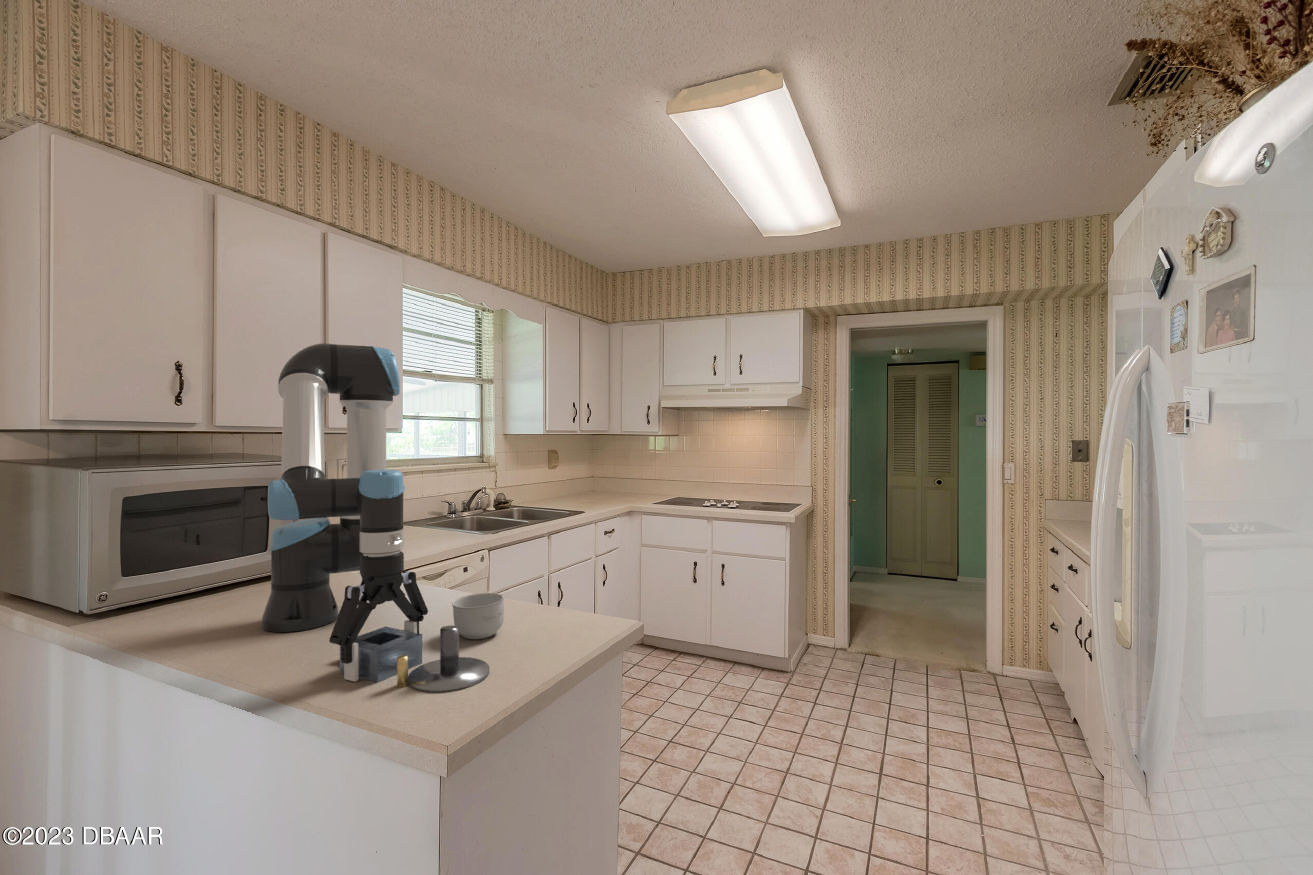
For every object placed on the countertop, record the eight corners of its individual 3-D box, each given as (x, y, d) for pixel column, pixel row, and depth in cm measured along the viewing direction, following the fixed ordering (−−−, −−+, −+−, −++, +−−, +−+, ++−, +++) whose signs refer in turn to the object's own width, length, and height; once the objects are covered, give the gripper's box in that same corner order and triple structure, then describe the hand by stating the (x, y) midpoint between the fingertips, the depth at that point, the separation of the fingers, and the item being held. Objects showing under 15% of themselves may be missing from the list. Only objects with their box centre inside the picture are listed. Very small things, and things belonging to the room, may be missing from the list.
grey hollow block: (422, 662, 114) (422, 634, 114) (377, 682, 105) (377, 651, 105) (368, 649, 120) (368, 622, 120) (322, 667, 111) (321, 638, 111)
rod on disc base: (390, 682, 105) (390, 634, 105) (449, 655, 118) (449, 612, 117) (449, 698, 99) (449, 647, 99) (505, 668, 111) (505, 622, 111)
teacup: (489, 645, 123) (489, 607, 123) (442, 641, 125) (442, 603, 125) (518, 624, 137) (518, 589, 137) (475, 620, 139) (475, 586, 139)
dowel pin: (394, 686, 103) (394, 657, 103) (403, 682, 105) (403, 654, 105) (401, 688, 103) (401, 659, 103) (410, 684, 104) (410, 655, 104)
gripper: (334, 568, 99) (335, 696, 99) (446, 542, 121) (446, 647, 121) (305, 563, 102) (306, 687, 102) (419, 539, 124) (419, 642, 124)
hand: (382, 666), depth 111 cm, fingers open, 12 cm apart
